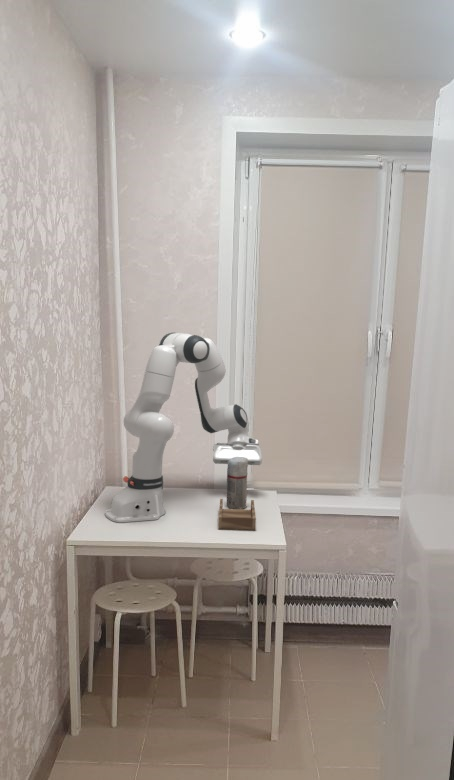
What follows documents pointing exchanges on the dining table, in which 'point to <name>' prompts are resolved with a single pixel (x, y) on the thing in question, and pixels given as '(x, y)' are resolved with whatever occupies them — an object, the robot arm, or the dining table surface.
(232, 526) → the walnut trough
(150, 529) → the dining table surface
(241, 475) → the spray can
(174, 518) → the dining table surface
